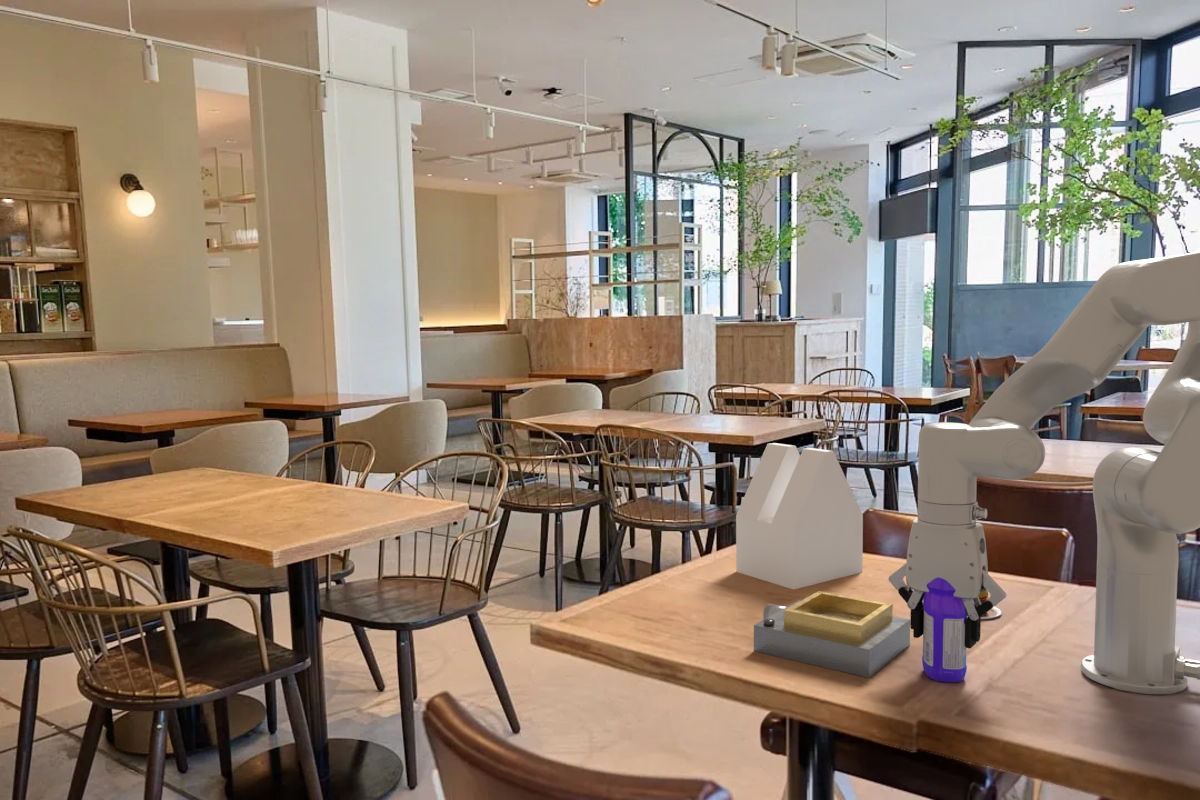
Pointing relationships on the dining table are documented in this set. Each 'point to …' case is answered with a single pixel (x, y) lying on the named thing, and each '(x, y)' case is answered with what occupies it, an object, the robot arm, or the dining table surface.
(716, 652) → the dining table surface
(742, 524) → the white notched block
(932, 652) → the bottle
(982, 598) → the hamburger
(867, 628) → the grey brass fixture
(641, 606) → the dining table surface
